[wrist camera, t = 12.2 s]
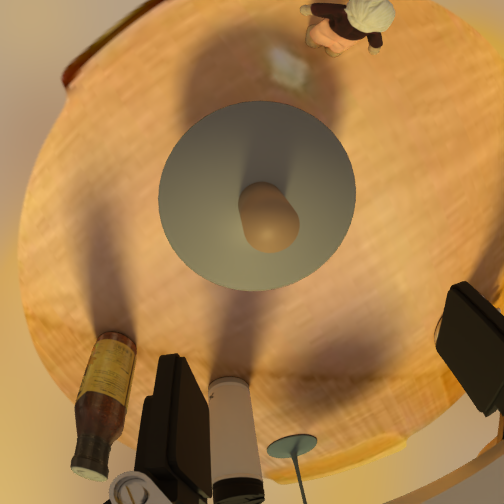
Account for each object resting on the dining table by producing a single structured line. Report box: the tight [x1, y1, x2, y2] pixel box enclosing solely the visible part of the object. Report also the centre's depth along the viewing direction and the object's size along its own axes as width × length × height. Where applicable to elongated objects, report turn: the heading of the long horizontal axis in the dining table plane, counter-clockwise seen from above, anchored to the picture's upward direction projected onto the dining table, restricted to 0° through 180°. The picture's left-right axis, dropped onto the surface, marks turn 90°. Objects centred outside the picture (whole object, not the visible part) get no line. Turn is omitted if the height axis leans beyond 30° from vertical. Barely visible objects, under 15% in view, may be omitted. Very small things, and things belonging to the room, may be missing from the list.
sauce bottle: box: [71, 332, 137, 482], centre depth 30 cm, size 7×6×20 cm
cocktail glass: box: [267, 435, 317, 504], centre depth 44 cm, size 18×18×25 cm
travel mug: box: [208, 377, 265, 504], centre depth 35 cm, size 6×7×20 cm
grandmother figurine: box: [300, 0, 395, 57], centre depth 19 cm, size 8×4×13 cm, turn 78°
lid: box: [158, 101, 356, 291], centre depth 22 cm, size 16×16×6 cm
